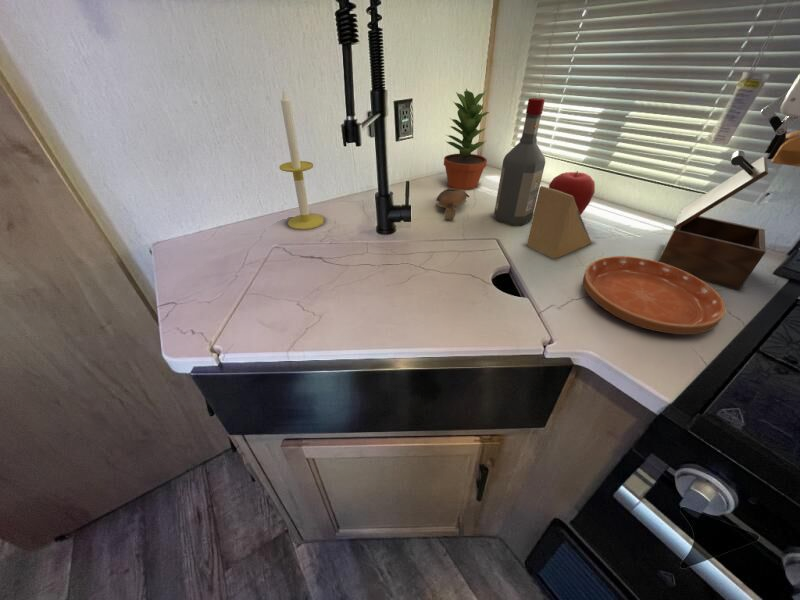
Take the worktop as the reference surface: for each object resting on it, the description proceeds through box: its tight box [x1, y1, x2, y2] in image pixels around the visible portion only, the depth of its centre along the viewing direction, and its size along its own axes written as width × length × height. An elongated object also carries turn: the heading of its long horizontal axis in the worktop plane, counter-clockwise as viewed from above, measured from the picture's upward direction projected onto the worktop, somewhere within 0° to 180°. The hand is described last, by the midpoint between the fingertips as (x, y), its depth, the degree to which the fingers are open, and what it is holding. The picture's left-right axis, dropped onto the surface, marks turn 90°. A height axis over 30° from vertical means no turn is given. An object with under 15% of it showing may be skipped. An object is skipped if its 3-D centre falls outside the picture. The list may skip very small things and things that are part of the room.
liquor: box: [493, 97, 546, 227], centre depth 91 cm, size 9×9×30 cm
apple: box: [548, 170, 596, 216], centre depth 97 cm, size 12×12×13 cm
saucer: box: [582, 255, 726, 335], centre depth 67 cm, size 23×23×4 cm
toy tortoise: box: [435, 187, 471, 221], centre depth 105 cm, size 20×5×10 cm
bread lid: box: [673, 150, 769, 229], centre depth 71 cm, size 16×13×5 cm
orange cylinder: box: [770, 130, 800, 168], centre depth 62 cm, size 7×4×4 cm, turn 141°
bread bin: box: [657, 215, 767, 291], centre depth 76 cm, size 15×13×9 cm
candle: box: [278, 87, 325, 230], centre depth 89 cm, size 10×10×32 cm
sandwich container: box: [526, 185, 593, 259], centre depth 83 cm, size 9×15×15 cm, turn 123°
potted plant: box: [443, 87, 490, 191], centre depth 115 cm, size 15×15×30 cm
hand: (788, 159), depth 63 cm, fingers closed on orange cylinder, 4 cm apart
